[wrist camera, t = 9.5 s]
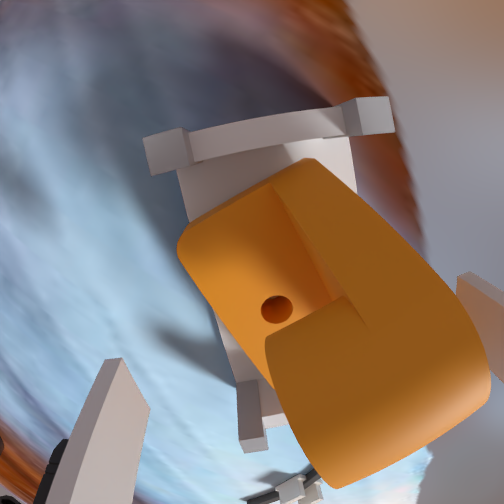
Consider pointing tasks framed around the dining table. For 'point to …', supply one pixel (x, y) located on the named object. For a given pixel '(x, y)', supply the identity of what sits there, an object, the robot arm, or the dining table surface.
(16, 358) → the dining table surface
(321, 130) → the holder
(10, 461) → the dining table surface
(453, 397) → the bracket
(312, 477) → the cable route
